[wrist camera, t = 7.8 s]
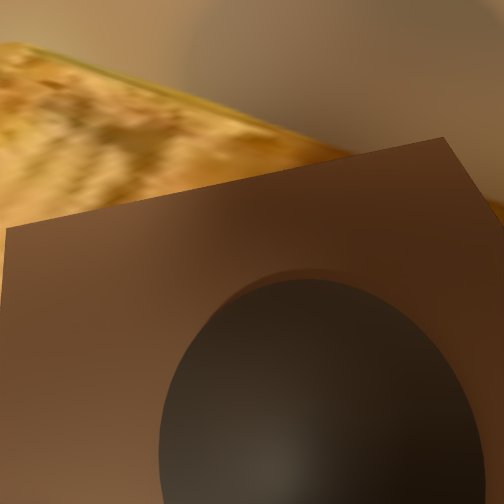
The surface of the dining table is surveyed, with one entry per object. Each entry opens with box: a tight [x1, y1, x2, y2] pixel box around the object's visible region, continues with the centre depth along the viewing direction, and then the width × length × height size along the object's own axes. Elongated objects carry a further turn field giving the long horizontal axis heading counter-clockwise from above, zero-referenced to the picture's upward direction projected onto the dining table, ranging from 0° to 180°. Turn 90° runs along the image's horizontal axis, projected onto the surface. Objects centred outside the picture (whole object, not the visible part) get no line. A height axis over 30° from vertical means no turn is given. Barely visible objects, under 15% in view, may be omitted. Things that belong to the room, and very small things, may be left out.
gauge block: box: [0, 137, 504, 504], centre depth 8 cm, size 5×5×12 cm
